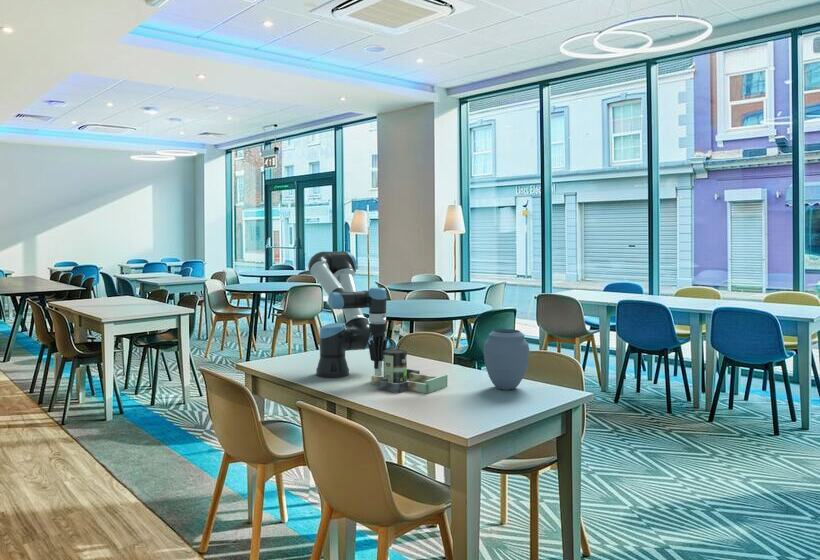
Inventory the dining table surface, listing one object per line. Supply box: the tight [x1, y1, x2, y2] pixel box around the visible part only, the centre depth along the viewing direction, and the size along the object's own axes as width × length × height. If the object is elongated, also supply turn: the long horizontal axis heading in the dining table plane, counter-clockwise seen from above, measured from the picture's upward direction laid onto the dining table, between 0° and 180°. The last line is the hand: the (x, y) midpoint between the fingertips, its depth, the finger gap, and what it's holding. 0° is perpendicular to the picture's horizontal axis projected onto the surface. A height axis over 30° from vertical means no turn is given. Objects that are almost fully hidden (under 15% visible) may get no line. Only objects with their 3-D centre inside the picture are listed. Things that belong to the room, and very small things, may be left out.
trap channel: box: [371, 368, 437, 394], centre depth 284 cm, size 24×28×4 cm
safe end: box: [418, 374, 448, 394], centre depth 276 cm, size 5×15×5 cm, turn 146°
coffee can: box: [383, 348, 408, 384], centre depth 286 cm, size 10×10×14 cm
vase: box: [482, 328, 530, 391], centre depth 277 cm, size 20×20×24 cm
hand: (378, 375), depth 292 cm, fingers closed
